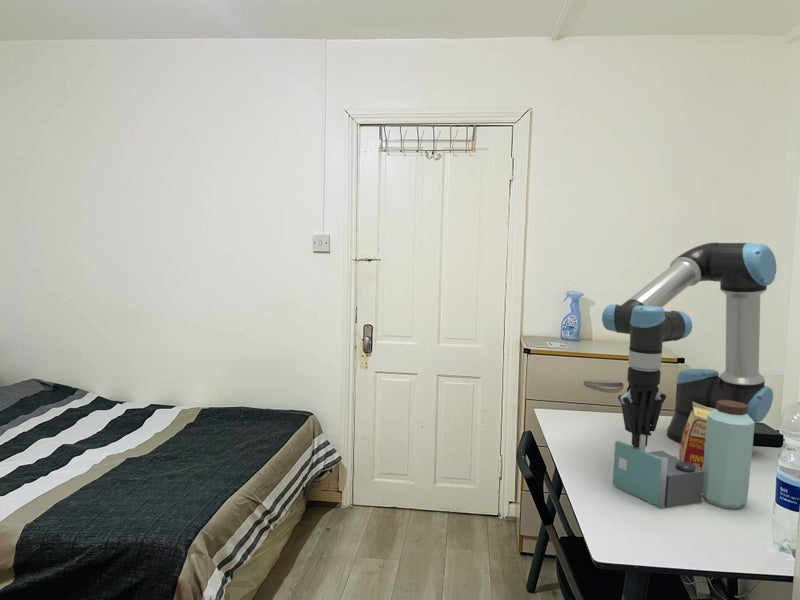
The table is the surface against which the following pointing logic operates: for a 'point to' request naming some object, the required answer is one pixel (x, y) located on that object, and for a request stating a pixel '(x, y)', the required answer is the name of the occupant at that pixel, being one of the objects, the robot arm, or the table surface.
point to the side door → (640, 473)
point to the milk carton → (695, 436)
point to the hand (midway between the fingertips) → (638, 458)
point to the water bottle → (728, 454)
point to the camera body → (681, 481)
